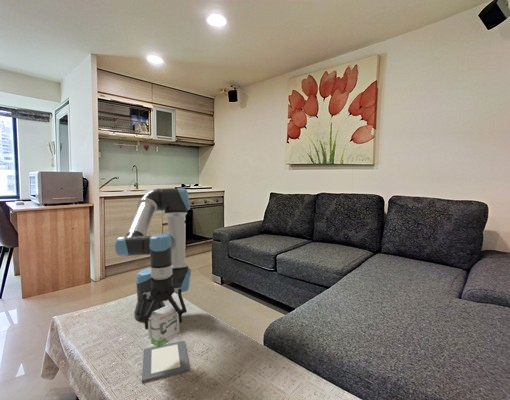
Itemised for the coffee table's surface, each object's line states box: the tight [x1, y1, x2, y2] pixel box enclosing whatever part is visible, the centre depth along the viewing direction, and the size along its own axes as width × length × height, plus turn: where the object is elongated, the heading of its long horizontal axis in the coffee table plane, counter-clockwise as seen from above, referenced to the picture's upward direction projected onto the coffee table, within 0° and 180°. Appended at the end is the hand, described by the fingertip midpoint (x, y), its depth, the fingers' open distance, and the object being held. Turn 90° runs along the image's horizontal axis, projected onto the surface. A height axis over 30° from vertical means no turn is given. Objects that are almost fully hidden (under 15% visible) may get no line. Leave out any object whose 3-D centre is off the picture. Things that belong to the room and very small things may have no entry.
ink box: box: [150, 304, 178, 347], centre depth 102 cm, size 9×5×12 cm, turn 143°
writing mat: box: [141, 340, 190, 383], centre depth 104 cm, size 18×16×1 cm
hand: (164, 333), depth 103 cm, fingers closed on ink box, 9 cm apart
